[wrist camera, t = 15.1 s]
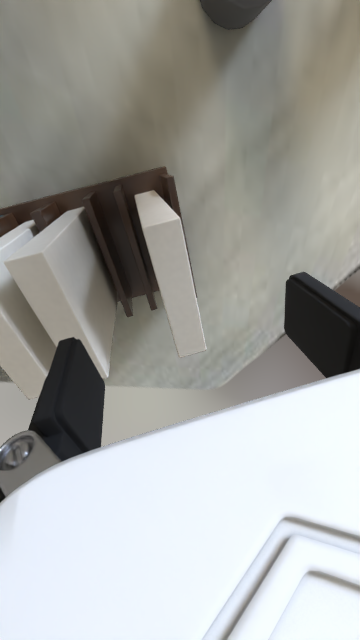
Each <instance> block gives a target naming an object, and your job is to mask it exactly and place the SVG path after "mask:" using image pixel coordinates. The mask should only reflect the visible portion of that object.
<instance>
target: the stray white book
mask: <svg viewBox="0 0 360 640" xmlns="http://www.w3.org/2000/svg"><path fill="white" fill-rule="evenodd" d="M134 197H135V201H136V205H137V209H138V214H139V218H140V222H141V226H142V230H143V233H144V237H145V240H146V244H147V247H148V251H149V254H150V258H151V261H152V265H153V268H154V272H155V275H156V279H157V282H158V286H159V289H160V293H161V296H162V300H163V303H164V307H165V310H166V314H167V317H168V321H169V324H170V328H171V331H172V335H173V338H174V342H175V345H176V349H177V352H178V356H179V358H182V357H185V356H189V355H192V354H196V353H199V352H203V351H206V344H205V339H204V334H203V329H202V324H201V319H200V314H199V309H198V304H197V299H196V294H195V289H194V284H193V279H192V274H191V269H190V264H189V259H188V254H187V249H186V244H185V239H184V234H183V229H182V224H181V219H180V217H179V216H178V215H177V214H176V213H175V212H174V211H173V210H172V209H171V208H170V207H169V206H168V205H167V203H166V202H165V201H164V200H163V199H162V198H161V197H160V196H159V195H158V194H157V193H156V192H155V191H154V190H152V191H149V192H145V193H141V194H137V195H134Z"/></svg>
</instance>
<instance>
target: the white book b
mask: <svg viewBox="0 0 360 640" xmlns="http://www.w3.org/2000/svg"><path fill="white" fill-rule="evenodd" d="M3 262H4V264H5V266H6V268H7V269H8V271H9V272H10V274H11V276H12V277H13V279H14V280H15V282H16V283H17V285H18V287H19V288H20V290H21V291H22V293H23V295H24V296H25V298H26V299H27V301H28V303H29V304H30V306H31V307H32V309H33V311H34V312H35V314H36V315H37V317H38V319H39V320H40V322H41V323H42V325H43V327H44V328H45V330H46V331H47V333H48V335H49V336H50V338H51V339H52V341H53V343H54V344H55V346H56V347H57V346H58V343H59V341H60V340H64V339H67V338H71V337H74V338H75V339H80V340H81V341H82V343H83V345H84V347H85V349H86V350H87V352H88V354H89V356H90V358H91V359H92V361H93V363H94V365H95V367H96V368H97V370H98V372H99V374H100V375H101V377H102V379H105V378H108V374H109V366H110V358H111V350H112V341H113V333H114V325H115V317H116V309H117V300H118V292H117V290H116V287H115V284H114V282H113V279H112V277H111V274H110V272H109V269H108V267H107V264H106V261H105V259H104V256H103V254H102V251H101V249H100V246H99V244H98V241H97V238H96V236H95V233H94V231H93V228H92V226H91V223H90V221H89V218H88V215H87V213H86V210H85V208H84V207H81V208H77V209H73V210H70V211H67V212H65V213H64V214H63V215H61V216H60V217H59V218H58V219H56V220H55V221H54V222H53V223H51V224H50V225H49V226H48V227H46V228H45V229H44V230H43V231H41V232H40V233H39V234H37V235H36V236H35V237H34V238H32V239H31V240H30V241H29V242H27V243H26V244H25V245H24V246H22V247H21V248H20V249H19V250H17V251H16V252H15V253H13V254H12V255H11V256H10V257H8V258H7V259H6V260H5V261H3Z"/></svg>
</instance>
